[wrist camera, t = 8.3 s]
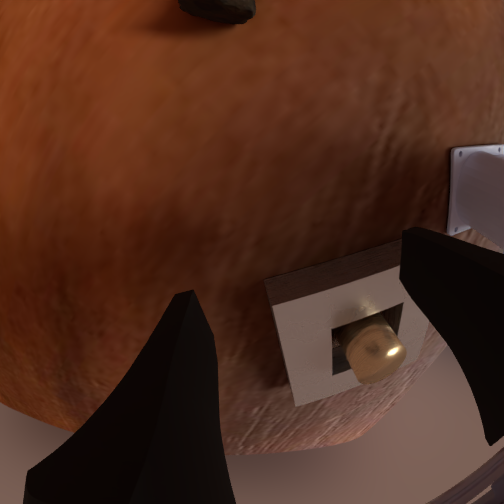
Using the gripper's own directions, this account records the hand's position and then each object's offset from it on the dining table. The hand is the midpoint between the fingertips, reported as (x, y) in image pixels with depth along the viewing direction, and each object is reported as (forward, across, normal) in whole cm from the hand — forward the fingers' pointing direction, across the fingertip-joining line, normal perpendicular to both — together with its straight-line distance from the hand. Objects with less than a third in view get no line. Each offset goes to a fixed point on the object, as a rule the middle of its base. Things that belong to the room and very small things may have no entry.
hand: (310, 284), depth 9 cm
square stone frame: (+9, -6, +13) cm, 17 cm away
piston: (+9, -6, +13) cm, 17 cm away
